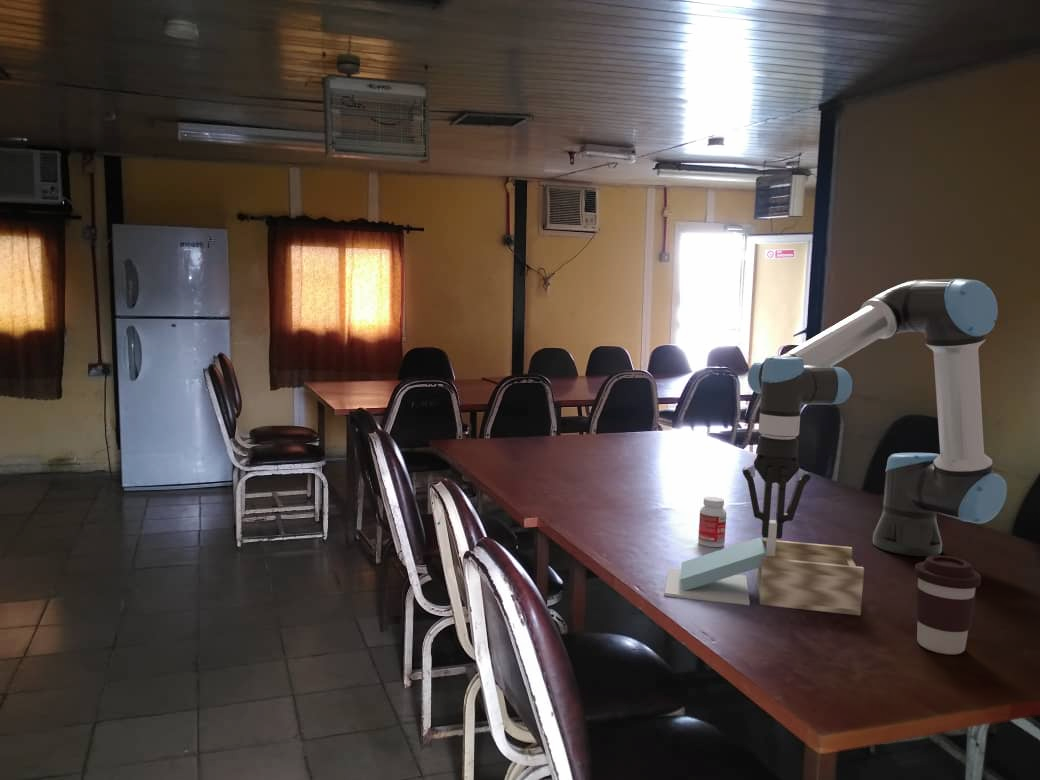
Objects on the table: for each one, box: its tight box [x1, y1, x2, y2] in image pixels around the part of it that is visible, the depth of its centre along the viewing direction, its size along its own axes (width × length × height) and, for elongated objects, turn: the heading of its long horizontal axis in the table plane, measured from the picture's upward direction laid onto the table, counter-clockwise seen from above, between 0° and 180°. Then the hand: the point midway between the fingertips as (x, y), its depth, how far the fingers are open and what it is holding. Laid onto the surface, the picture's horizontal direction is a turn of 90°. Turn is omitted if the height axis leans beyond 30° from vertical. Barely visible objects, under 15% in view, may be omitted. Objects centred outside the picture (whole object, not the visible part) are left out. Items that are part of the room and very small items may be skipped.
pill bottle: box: [697, 496, 727, 548], centre depth 195 cm, size 6×6×11 cm
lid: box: [680, 536, 767, 591], centre depth 165 cm, size 17×11×2 cm, turn 78°
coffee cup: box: [914, 554, 982, 655], centre depth 139 cm, size 10×10×15 cm
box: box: [755, 538, 865, 616], centre depth 161 cm, size 18×14×9 cm
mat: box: [663, 567, 751, 606], centre depth 166 cm, size 16×16×1 cm
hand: (770, 553), depth 162 cm, fingers closed
